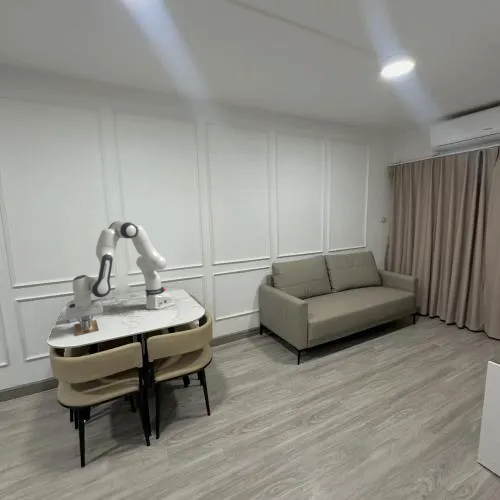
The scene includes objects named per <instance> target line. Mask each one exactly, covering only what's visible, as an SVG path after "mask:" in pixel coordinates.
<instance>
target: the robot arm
mask: <svg viewBox="0 0 500 500" xmlns="http://www.w3.org/2000/svg"><path fill="white" fill-rule="evenodd" d="M120 239H130V240H131V242H132V244H133V246H134V248H135V250H136V251H137V254H138V255H139V256H138V257H137V258H136V266H137V267H138V269H139V270H140V271H141V273H142V275H143V279H144V284H145V290H144V291H145V297H146V301H145V302H146V303H145V309H147V310H157V311H158V310H162V309H165V308H169V307H172V306H176V305H177V301H176V300H175V299H174V298H173V296H172V294H171V293H169V292H167V291H166V290H167V288H166V287H164V286H162V280H161V279H162V277H161V276H160V274H158V273H157V271H163V270H165V269H166V268H167V263H168V262H167V260H166V258H165V257H164V256H162V255H161V254H160V253H159V252H158V251H157V250H156V249H155V247H154V246H153V244H152V241H151V240H150V237H149V236H148V233H147V231H146V230H145V228H144V227H143V225H140V224H134V223H132V222H131V221H130V222H128V221H113V222H112V223H110V225H109V227H107V228H104V229H102V231H101V232H100V234H99V236H98V240H97V242H96V248H95V256H96V257H97V259H98V262H99V272H98V275H97V276H98V277H93V276H89V275H86V274H82V275H77V276H75V278H73V280H72V292H73V295H74V296H73V297H74V298H73V299H72V300H70V301H68V302H67V303H66V304H65V306H66V308H65V314H64V315H65V320H66V321H67V320H71V319H76V318H77V320H78V322H79V323H80V324H82V321H81V320H79V319H80V317H85V316H91V317H90V322H92V320H94V318H95V316H94V315H99V314H102V313H103V312H104V309H103V304H104V302H103V300H102V299H100V298H105V297H106V296H108V295H109V294H110V292H111V289H112V287H111V280H110V279H111V274H112V266H113V261H114V257H115V254H116V248H117V244H118V241H120ZM91 295H93V296H95V299H92V296H91ZM96 298H97V299H96Z"/></svg>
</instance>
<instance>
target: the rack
mask: <svg viewBox="0 0 500 500" xmlns="http://www.w3.org/2000/svg"><path fill="white" fill-rule="evenodd" d="M74 325H75V326H74V327H75V328H74V329H75V336H76V337H77V336H82V335H85V334H89V333H90V334H91V333H94V332H98V331H99V326H98V322H97V319H92V322H90V326H91V327H90V328H89V326H88V321H85V322H84V326H85V329H83V325H82V324H80V322H79V323H75V324H74Z"/></svg>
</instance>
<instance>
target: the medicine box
mask: <svg viewBox="0 0 500 500" xmlns="http://www.w3.org/2000/svg"><path fill="white" fill-rule="evenodd" d="M79 320H80V321H81V317H80V319H79ZM66 321H67V323H69V324H72V323H74V322H77V321H78V320H77V318H76V319H71V320H66ZM78 322H79V321H78Z"/></svg>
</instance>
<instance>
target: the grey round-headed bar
mask: <svg viewBox="0 0 500 500" xmlns="http://www.w3.org/2000/svg"><path fill="white" fill-rule="evenodd" d="M90 316H91V315H90ZM90 316H85V317H81V320H80V321H82V325H83V329H85V326H84V322H85V321H88V326H89V328H90V327H91V326H90V319H91V317H90Z"/></svg>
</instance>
